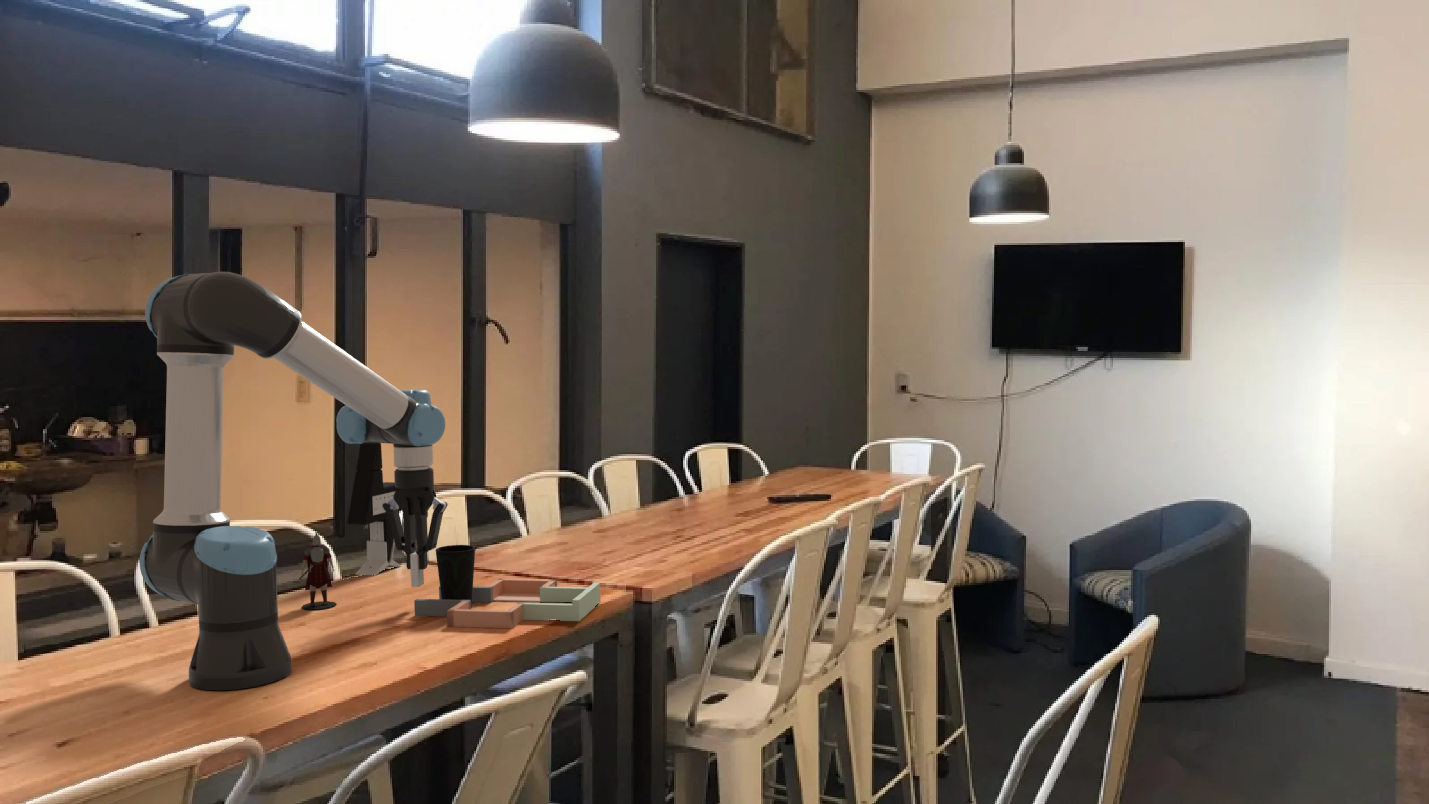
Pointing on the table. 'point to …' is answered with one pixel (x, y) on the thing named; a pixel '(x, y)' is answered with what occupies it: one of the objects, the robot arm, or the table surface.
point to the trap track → (514, 592)
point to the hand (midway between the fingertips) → (417, 585)
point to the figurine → (317, 574)
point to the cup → (456, 571)
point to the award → (373, 509)
